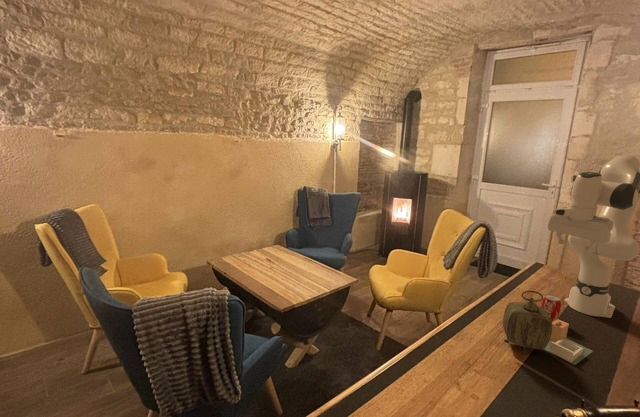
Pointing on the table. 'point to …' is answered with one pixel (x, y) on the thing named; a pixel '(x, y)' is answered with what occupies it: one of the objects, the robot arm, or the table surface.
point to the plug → (559, 330)
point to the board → (584, 353)
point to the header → (566, 350)
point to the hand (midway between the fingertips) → (573, 247)
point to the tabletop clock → (527, 324)
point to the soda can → (551, 306)
